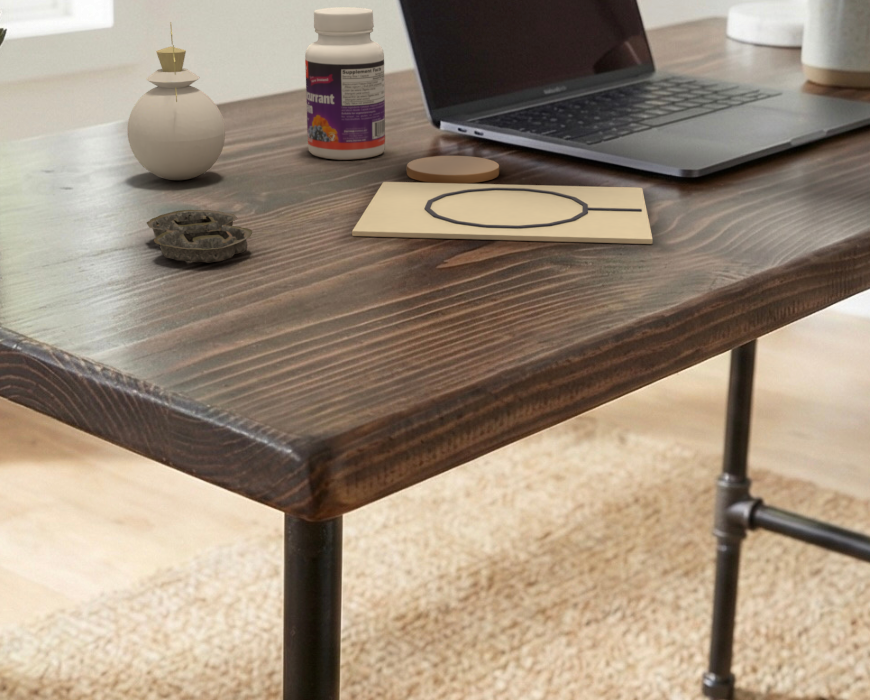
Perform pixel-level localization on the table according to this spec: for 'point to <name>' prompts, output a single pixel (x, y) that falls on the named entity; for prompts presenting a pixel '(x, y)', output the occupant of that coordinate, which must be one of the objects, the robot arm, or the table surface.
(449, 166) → the coaster
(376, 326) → the table surface
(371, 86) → the pill bottle
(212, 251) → the corroded twin loop
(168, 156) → the ornament
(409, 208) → the yellow board
